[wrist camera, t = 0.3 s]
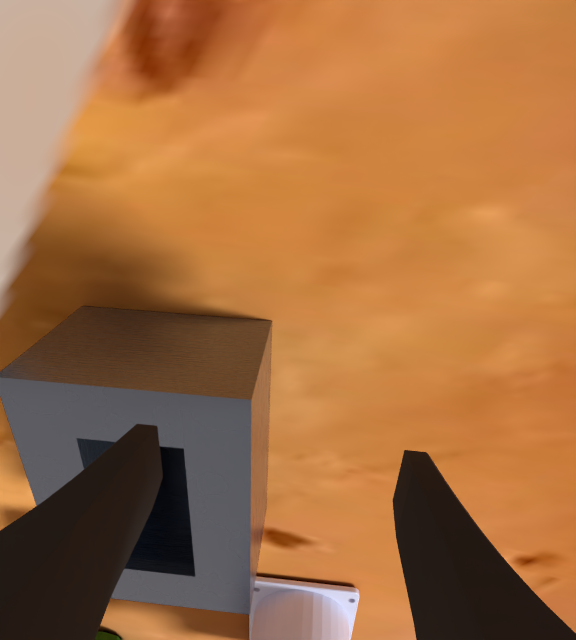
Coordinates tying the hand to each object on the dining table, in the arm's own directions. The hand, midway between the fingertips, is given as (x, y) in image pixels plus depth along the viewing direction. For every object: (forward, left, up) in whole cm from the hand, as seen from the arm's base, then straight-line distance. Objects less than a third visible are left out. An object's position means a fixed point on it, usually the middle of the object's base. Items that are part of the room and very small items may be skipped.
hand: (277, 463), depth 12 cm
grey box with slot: (-7, +6, -10) cm, 14 cm away
